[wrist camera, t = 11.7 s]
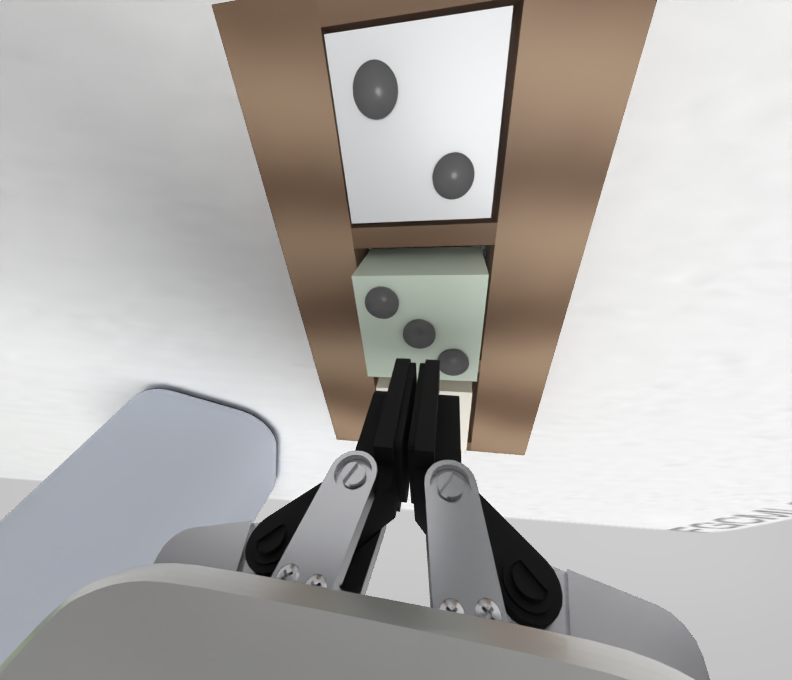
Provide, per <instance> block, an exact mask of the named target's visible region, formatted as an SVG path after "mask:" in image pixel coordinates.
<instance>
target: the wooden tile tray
mask: <svg viewBox="0 0 792 680" xmlns="http://www.w3.org/2000/svg"><path fill="white" fill-rule="evenodd" d="M656 2H657V0H235V1H229V2H224V3H219V4H213V5H212V8H213V12H214V15H215V18H216V22H217V25H218V29H219V32H220V36H221V39H222V43H223V46H224V50H225V53H226V57H227V60H228V64H229V67H230V70H231V74H232V77H233V81H234V84H235V88H236V91H237V95H238V98H239V102H240V105H241V109H242V112H243V116H244V119H245V123H246V126H247V129H248V133H249V136H250V140H251V143H252V147H253V150H254V154H255V157H256V161H257V164H258V168H259V171H260V175H261V178H262V181H263V185H264V188H265V192H266V195H267V199H268V202H269V206H270V209H271V213H272V216H273V220H274V223H275V227H276V230H277V234H278V237H279V240H280V244H281V247H282V251H283V254H284V258H285V261H286V265H287V268H288V272H289V275H290V279H291V282H292V286H293V289H294V292H295V296H296V299H297V303H298V306H299V310H300V313H301V317H302V320H303V324H304V327H305V331H306V334H307V338H308V341H309V345H310V348H311V351H312V355H313V358H314V362H315V365H316V369H317V372H318V376H319V379H320V383H321V386H322V390H323V393H324V397H325V400H326V403H327V407H328V410H329V414H330V417H331V421H332V424H333V428H334V431H335V435H336V438H337V439H338V440H349V441H358V440H359V437H360V434H361V431H362V428H363V425H364V422H365V418H366V415H367V412H368V409H369V406H370V403H371V400H372V396H373V394H374V392H375V391H376V386H377V383H378V379H379V377H370V376H368V374H367V368H366V362H365V356H364V350H363V343H362V337H361V331H360V325H359V319H358V313H357V307H356V301H355V295H354V288H353V282H352V275H353V273H354V272H355V270H356V269H357V268H358V266H359V265H360V263H361V262H362V261H363V259H364V258H365V256H366V255H367V254H368V252H369V248H393V247H431V246H469V245H486V254H485V263H486V267H487V270H488V273H489V278H488V287H487V296H486V305H485V313H484V322H483V331H482V340H481V349H480V357H479V366H478V375H477V381H472V401H471V411H470V420H469V430H468V439H467V449H466V450H468V451H479V452H491V453H503V454H515V455H525V452H526V448H527V445H528V441H529V438H530V435H531V431H532V428H533V424H534V421H535V417H536V414H537V411H538V407H539V404H540V400H541V397H542V393H543V390H544V386H545V383H546V380H547V376H548V373H549V369H550V366H551V362H552V359H553V356H554V352H555V349H556V345H557V342H558V338H559V335H560V332H561V328H562V325H563V321H564V318H565V314H566V311H567V308H568V304H569V301H570V297H571V294H572V290H573V287H574V284H575V280H576V277H577V273H578V270H579V266H580V263H581V260H582V256H583V253H584V249H585V246H586V242H587V239H588V236H589V232H590V229H591V225H592V222H593V218H594V215H595V212H596V208H597V205H598V201H599V198H600V194H601V191H602V187H603V184H604V181H605V177H606V174H607V170H608V167H609V163H610V160H611V157H612V153H613V150H614V146H615V143H616V139H617V136H618V133H619V129H620V126H621V122H622V119H623V115H624V112H625V109H626V105H627V102H628V98H629V95H630V91H631V88H632V85H633V81H634V78H635V74H636V71H637V67H638V64H639V61H640V57H641V54H642V50H643V47H644V43H645V40H646V37H647V33H648V30H649V26H650V23H651V19H652V16H653V13H654V9H655V6H656ZM506 6H513V13H512V23H511V32H510V41H509V51H508V60H507V70H506V79H505V89H504V98H503V108H502V117H501V127H500V136H499V146H498V155H497V165H496V174H495V183H494V193H493V202H492V212H491V218H475V219H450V220H426V221H402V222H377V223H353V224H352V221H351V214H350V208H349V201H348V194H347V187H346V180H345V174H344V167H343V160H342V153H341V146H340V140H339V133H338V126H337V119H336V112H335V106H334V99H333V92H332V85H331V78H330V72H329V65H328V58H327V51H326V44H325V38H324V34H330V33H336V32H343V31H350V30H356V29H363V28H369V27H376V26H382V25H389V24H395V23H402V22H408V21H415V20H421V19H428V18H435V17H441V16H448V15H454V14H461V13H467V12H474V11H480V10H487V9H493V8H500V7H506Z"/></svg>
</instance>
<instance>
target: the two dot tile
mask: <svg viewBox="0 0 792 680" xmlns="http://www.w3.org/2000/svg"><path fill="white" fill-rule="evenodd" d="M512 13H513V6H506V7H500V8H493V9H487V10H480V11H474V12H467V13H461V14H454V15H448V16H441V17H435V18H428V19H421V20H415V21H408V22H402V23H395V24H389V25H382V26H376V27H369V28H363V29H356V30H350V31H343V32H336V33H330V34H324V38H325V44H326V51H327V58H328V65H329V72H330V78H331V85H332V92H333V99H334V106H335V112H336V119H337V126H338V133H339V140H340V146H341V153H342V160H343V167H344V174H345V180H346V187H347V194H348V201H349V208H350V214H351V221H352V224H353V223H377V222H402V221H426V220H450V219H475V218H491V212H492V202H493V193H494V183H495V174H496V165H497V155H498V146H499V136H500V127H501V117H502V108H503V98H504V89H505V79H506V70H507V60H508V51H509V41H510V32H511V23H512Z"/></svg>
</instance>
